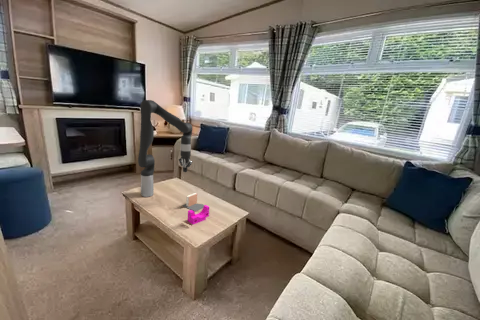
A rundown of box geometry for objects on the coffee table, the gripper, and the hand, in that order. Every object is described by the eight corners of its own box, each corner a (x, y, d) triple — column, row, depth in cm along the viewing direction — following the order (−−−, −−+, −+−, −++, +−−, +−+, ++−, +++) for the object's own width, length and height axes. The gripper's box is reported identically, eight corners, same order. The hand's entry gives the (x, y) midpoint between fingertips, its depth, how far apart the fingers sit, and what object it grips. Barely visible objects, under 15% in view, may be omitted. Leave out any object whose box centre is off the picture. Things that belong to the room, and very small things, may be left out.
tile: (186, 205, 165) (186, 196, 163) (194, 202, 172) (194, 192, 170) (188, 206, 163) (188, 197, 161) (196, 203, 171) (197, 193, 169)
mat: (182, 205, 165) (182, 205, 165) (193, 201, 175) (193, 200, 175) (195, 211, 158) (195, 211, 158) (206, 206, 168) (206, 205, 168)
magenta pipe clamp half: (192, 224, 140) (193, 214, 139) (187, 221, 145) (187, 210, 143) (211, 218, 151) (211, 208, 149) (205, 214, 155) (206, 204, 154)
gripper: (175, 148, 162) (175, 170, 166) (188, 151, 156) (187, 174, 160) (183, 147, 169) (182, 169, 173) (195, 150, 162) (194, 172, 166)
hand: (185, 171), depth 166 cm, fingers closed
